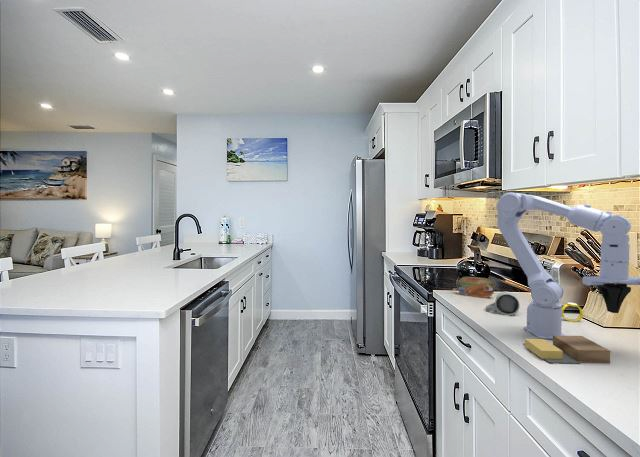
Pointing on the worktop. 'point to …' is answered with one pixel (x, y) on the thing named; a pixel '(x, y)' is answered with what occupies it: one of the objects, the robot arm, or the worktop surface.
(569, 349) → the block
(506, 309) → the ceramic mug
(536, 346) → the yellow sponge
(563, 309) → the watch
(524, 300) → the worktop surface
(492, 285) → the tin
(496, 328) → the worktop surface
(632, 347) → the worktop surface
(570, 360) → the mat
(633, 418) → the worktop surface
